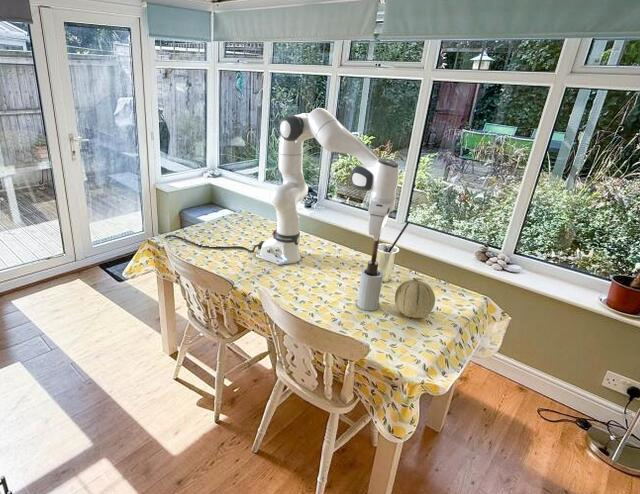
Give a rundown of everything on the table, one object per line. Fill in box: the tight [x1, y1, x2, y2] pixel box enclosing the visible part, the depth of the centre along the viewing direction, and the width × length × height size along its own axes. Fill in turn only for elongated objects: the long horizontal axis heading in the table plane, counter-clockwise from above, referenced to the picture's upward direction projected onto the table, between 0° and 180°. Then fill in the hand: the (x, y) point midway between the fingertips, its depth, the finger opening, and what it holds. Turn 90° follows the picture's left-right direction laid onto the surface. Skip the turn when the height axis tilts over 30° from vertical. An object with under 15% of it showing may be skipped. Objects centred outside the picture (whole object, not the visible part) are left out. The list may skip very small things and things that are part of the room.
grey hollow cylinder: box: [356, 267, 383, 312], centre depth 164 cm, size 8×8×15 cm
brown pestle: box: [366, 234, 381, 276], centre depth 158 cm, size 4×4×20 cm
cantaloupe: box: [394, 277, 436, 319], centre depth 158 cm, size 15×15×15 cm
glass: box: [376, 221, 410, 283], centre depth 182 cm, size 11×11×30 cm
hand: (376, 238), depth 156 cm, fingers closed on brown pestle, 2 cm apart
